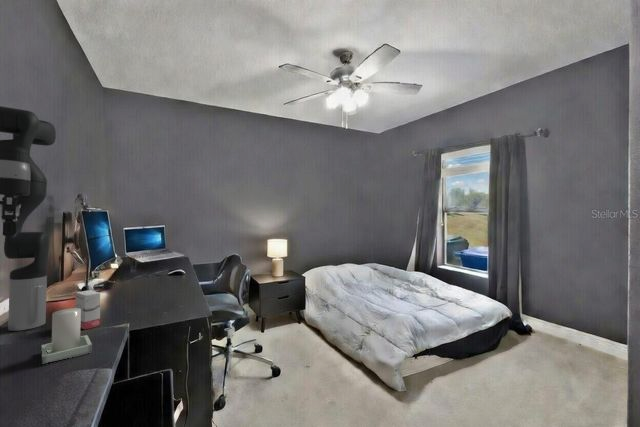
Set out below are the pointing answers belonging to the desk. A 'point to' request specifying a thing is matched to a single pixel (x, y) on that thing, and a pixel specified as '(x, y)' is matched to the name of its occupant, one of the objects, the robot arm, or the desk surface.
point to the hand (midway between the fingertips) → (9, 235)
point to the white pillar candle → (66, 329)
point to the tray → (66, 351)
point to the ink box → (88, 308)
